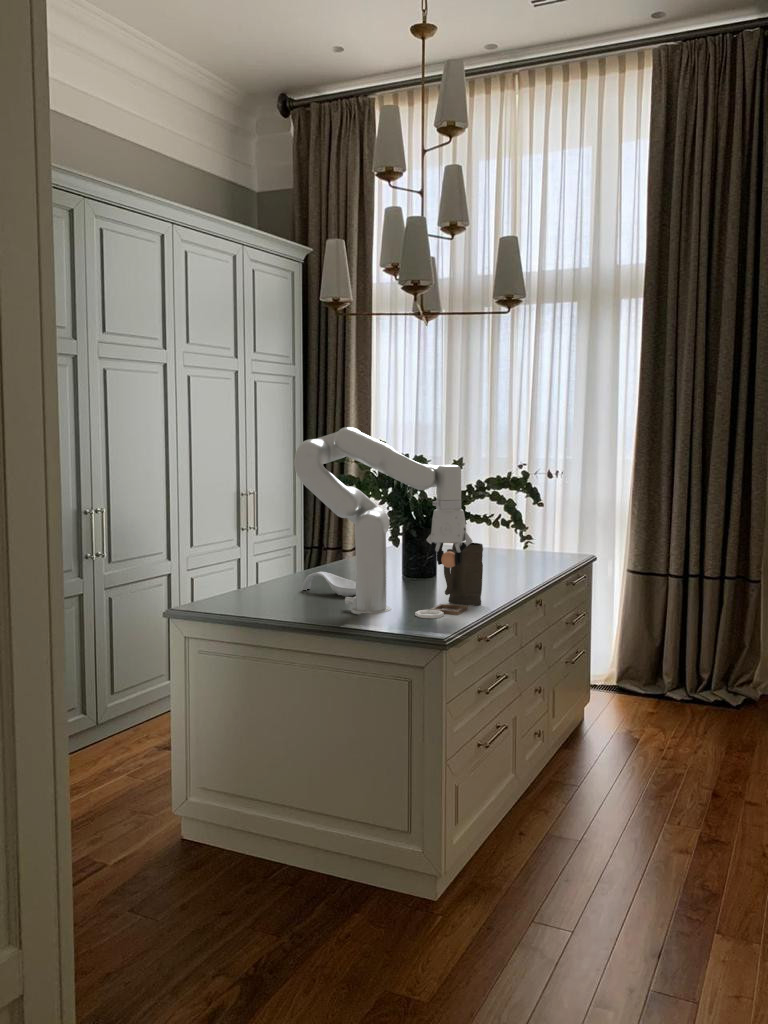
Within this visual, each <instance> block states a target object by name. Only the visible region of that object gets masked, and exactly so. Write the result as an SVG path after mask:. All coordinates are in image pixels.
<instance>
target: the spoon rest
mask: <svg viewBox="0 0 768 1024" xmlns="http://www.w3.org/2000/svg"><path fill="white" fill-rule="evenodd" d="M319 576H320V577H322V578H323V579H325V580H326V582H327V584H328V585H329V587H330V588H331V589H332V591H333V592H334V593H335V594H337V595H338V596H339V595H342V596H341V597H354V596H353V595H355V596H356V580H355V581H354V580H351V579H347V578H345V577H342V576H340V575H336V574H333V573H330V572H326V571H318V572H317V571H316V572H313V573H311V574H308V575H307V576H306V577H305V578H304V581H303V582H302V586H301V591H302V590H306V591H308V590H307V589H310V588H311V587H312V581H313V579H314V578H315V577H319ZM310 590H311V589H310Z"/></svg>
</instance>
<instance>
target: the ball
mask: <svg viewBox="0 0 768 1024" xmlns="http://www.w3.org/2000/svg"><path fill="white" fill-rule="evenodd" d="M441 562H442V564H441V565H443V567H444V566H445V567H448V568H450V569H451V567H454V566H455V553H453V552H451V551H448V552H447V551H445V552H444V554H443V555H442V557H441Z"/></svg>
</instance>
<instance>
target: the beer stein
mask: <svg viewBox="0 0 768 1024" xmlns="http://www.w3.org/2000/svg"><path fill="white" fill-rule="evenodd" d="M465 542H466V541H463V542H462V544H464V543H465ZM448 551H451V552H453V553H456V547H455V543H452V547H451V548H449V549H446V552H448ZM483 551H484V545H483V543H480V542H479V543H477V542H472V543H471V544H470V545H468V546H467V547H466V548H465V549H464V550H463V551H462V562H461V564H460V565H458V566H456V565H455V566H454V567H451V568H448V567H445V566H444V565H443V577H444V579H445V583H446V588H445V590H444V594H445V596H449V597H448V601H447V602H448V604H449V603H450V604H451V605H460V606H480V605H481V604H482V591H483V589H482V588H483V571H484V569H483V568H484V564H483Z"/></svg>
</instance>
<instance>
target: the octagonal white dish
mask: <svg viewBox="0 0 768 1024" xmlns="http://www.w3.org/2000/svg"><path fill="white" fill-rule="evenodd" d="M414 614H415V616H416V617H417V618H421V619H440V618H443V616H444V615H445V614H444V612H442V611H439V610H430V609H422V610H421V609H420V610H419V609H418V611H415V612H414Z"/></svg>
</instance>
